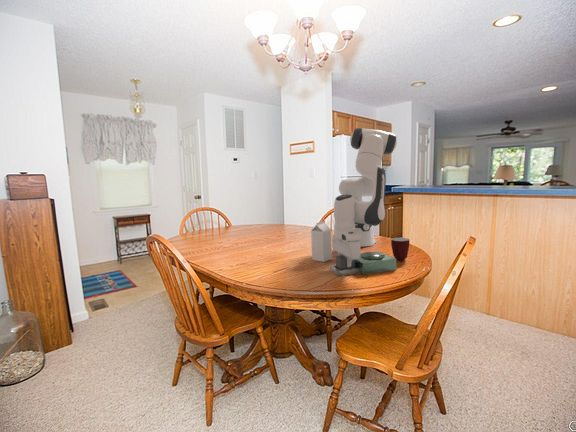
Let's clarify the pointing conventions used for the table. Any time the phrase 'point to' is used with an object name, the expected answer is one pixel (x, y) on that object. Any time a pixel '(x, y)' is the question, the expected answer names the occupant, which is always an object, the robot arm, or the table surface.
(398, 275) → the table surface
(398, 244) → the mug
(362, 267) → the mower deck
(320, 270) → the table surface
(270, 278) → the table surface
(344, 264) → the grey rectangular block
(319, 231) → the milk carton
